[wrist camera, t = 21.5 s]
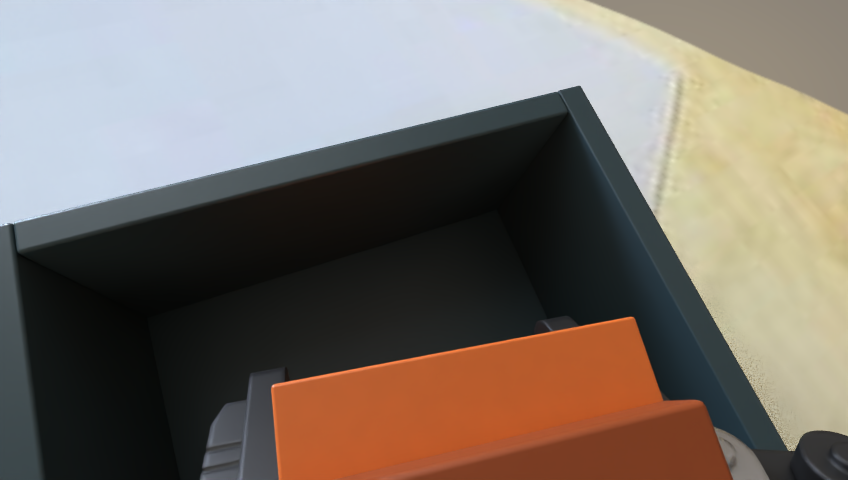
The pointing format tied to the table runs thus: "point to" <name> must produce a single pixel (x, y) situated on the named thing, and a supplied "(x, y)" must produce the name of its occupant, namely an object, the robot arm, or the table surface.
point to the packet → (499, 416)
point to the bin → (335, 284)
